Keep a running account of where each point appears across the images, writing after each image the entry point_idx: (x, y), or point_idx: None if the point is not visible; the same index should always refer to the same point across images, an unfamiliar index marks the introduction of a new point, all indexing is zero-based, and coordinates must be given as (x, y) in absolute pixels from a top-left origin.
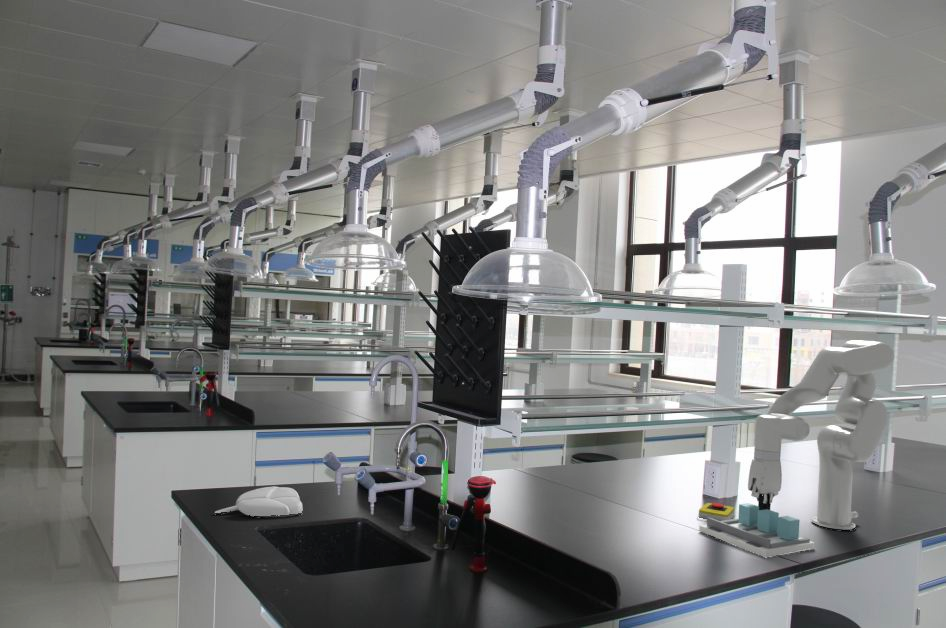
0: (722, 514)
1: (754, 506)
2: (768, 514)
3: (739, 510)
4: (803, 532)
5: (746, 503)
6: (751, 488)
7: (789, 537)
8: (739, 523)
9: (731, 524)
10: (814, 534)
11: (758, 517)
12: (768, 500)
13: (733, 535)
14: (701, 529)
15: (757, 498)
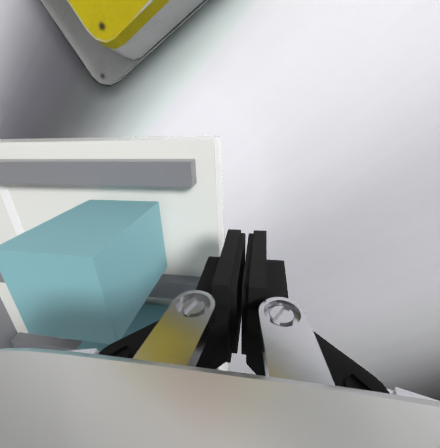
0: (79, 17)
1: (84, 328)
2: None
3: (35, 231)
4: (402, 321)
5: (68, 255)
6: (4, 383)
7: None
8: (106, 193)
9: (53, 191)
10: (417, 352)
11: (80, 349)
12: (255, 372)
13: None
14: None
15: (137, 340)
